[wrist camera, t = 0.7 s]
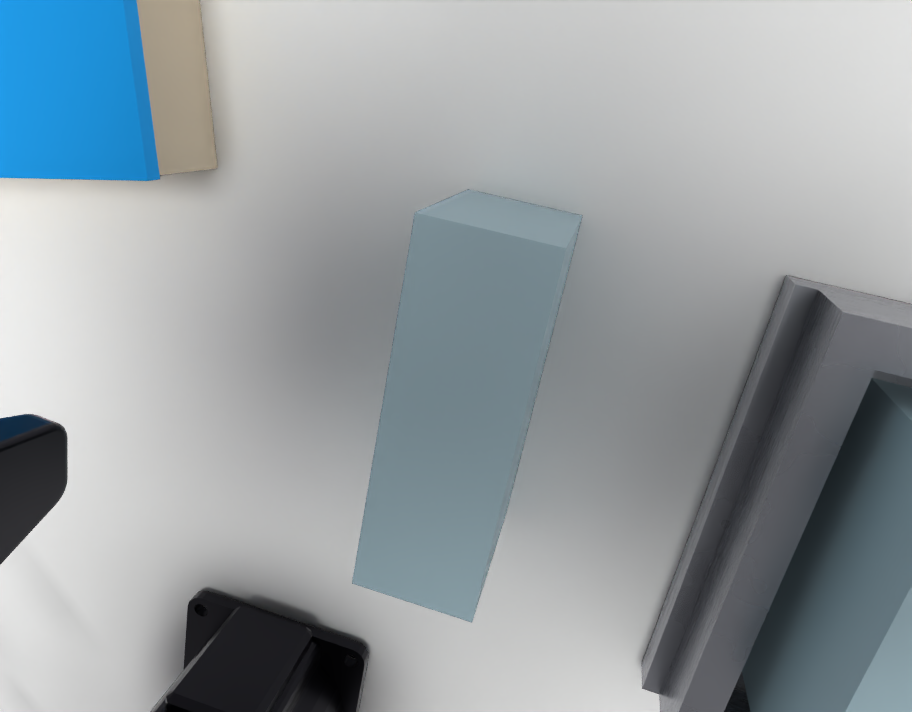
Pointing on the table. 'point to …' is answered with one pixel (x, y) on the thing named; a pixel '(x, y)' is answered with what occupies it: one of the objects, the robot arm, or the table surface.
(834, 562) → the fitted panel
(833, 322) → the rack
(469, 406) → the panel
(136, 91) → the book
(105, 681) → the table surface
